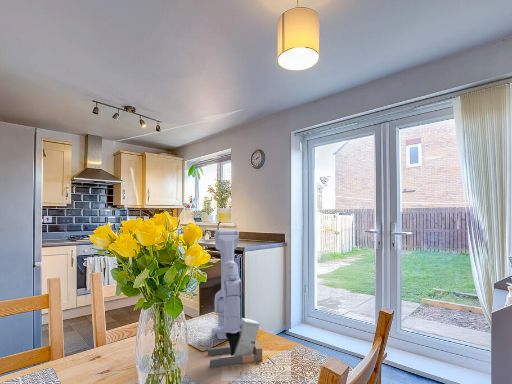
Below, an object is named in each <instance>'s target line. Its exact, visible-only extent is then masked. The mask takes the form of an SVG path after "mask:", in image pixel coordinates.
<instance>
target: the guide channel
mask: <svg viewBox="0 0 512 384" xmlns="http://www.w3.org/2000/svg"><path fill="white" fill-rule="evenodd" d="M223 354H225V355H226V354H231V352H230V345H227V346H219V347H218V346H217V347H211V348H207V356H214V355H223ZM260 361H263V347H262V346H261V343H260V342H259V341H258V339H257V338H256V341H255V345H254V349H253V353H252V354H250V355H242V356H235V355H232V356H225V357H218V358H210V359H209V367H210V368H212V367H219V366H228V365H236V364H243V363H253V362H260Z"/></svg>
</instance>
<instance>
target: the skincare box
mask: <svg viewBox="0 0 512 384" xmlns="http://www.w3.org/2000/svg"><path fill="white" fill-rule="evenodd" d="M240 326H241V328H242V331H239V339H238V341H237V343H236V345H235V349H234V355H233V356H242V355H250V354H253V349H254V345H255V341H256V339H257V336H258V331H259V328H260V323H259V322H258V321H257V320H256V319H250V318H244V317H240Z"/></svg>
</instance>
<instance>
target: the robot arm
mask: <svg viewBox="0 0 512 384" xmlns="http://www.w3.org/2000/svg"><path fill="white" fill-rule="evenodd" d="M239 241H240V232H239V230H238V229H219V230H218V229H216V230H215V231H214V247H215V250H218V251H219V253H220V287H221V288H220V290H218V291H217V292H216V293H215V295H214V313H216V314H217V327H212V328H211V336H212V337H214V336H216V337H217V340H227V341H228V346H230V352H231V353H230V355H231V356H230V357H233V356H235V355H234V349H235V345H236V343H237V341H238V339H239V331H242V328H241V326H240V322H241V296H242V293H243V285H242V280H241V277H240V276H239V267H238V266H239V265H238V264H237V262H235V250H236V249H237V247H238V245H239Z"/></svg>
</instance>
